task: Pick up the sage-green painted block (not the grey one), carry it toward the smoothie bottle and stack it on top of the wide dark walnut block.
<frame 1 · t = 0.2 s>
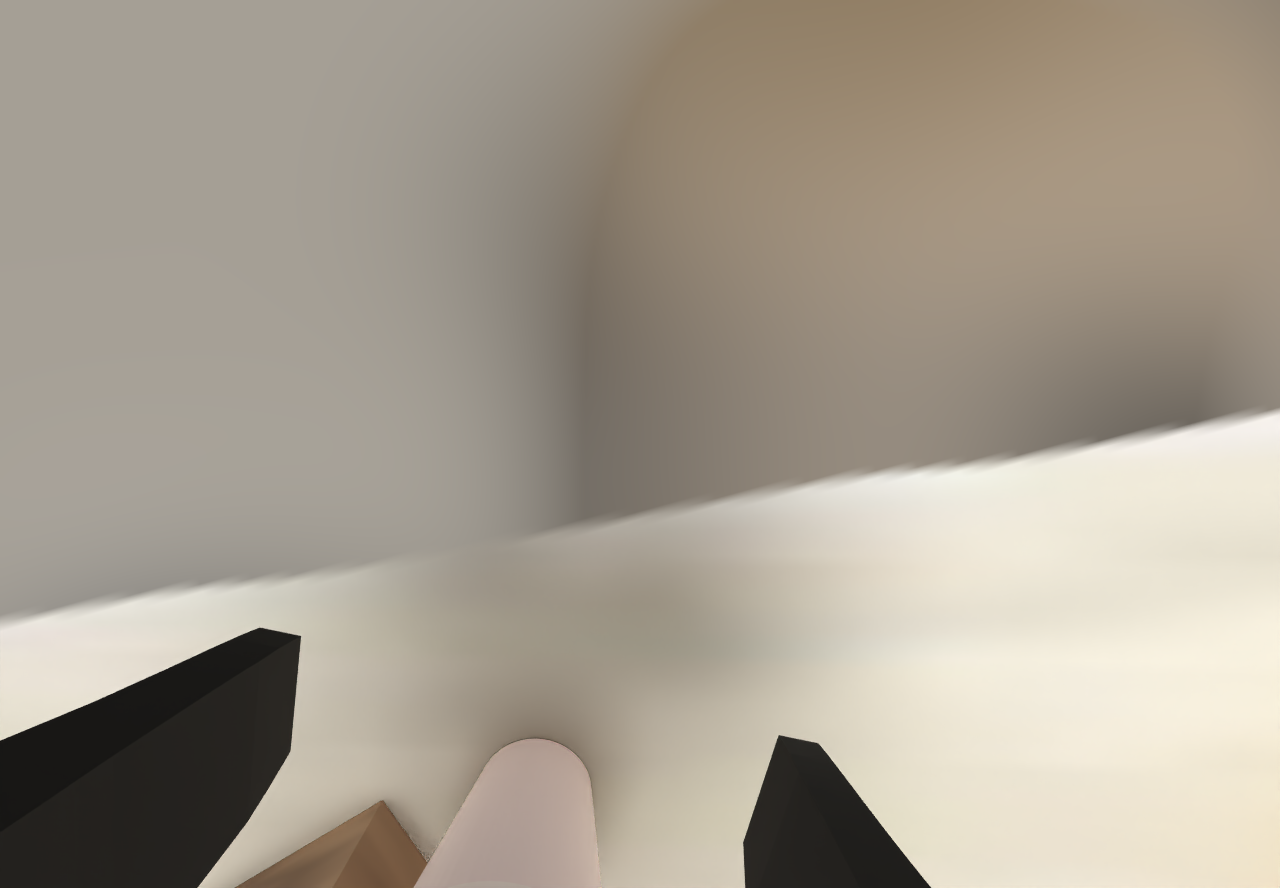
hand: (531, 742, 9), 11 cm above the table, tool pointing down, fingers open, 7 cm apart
smoothie: (536, 787, 21), on the table
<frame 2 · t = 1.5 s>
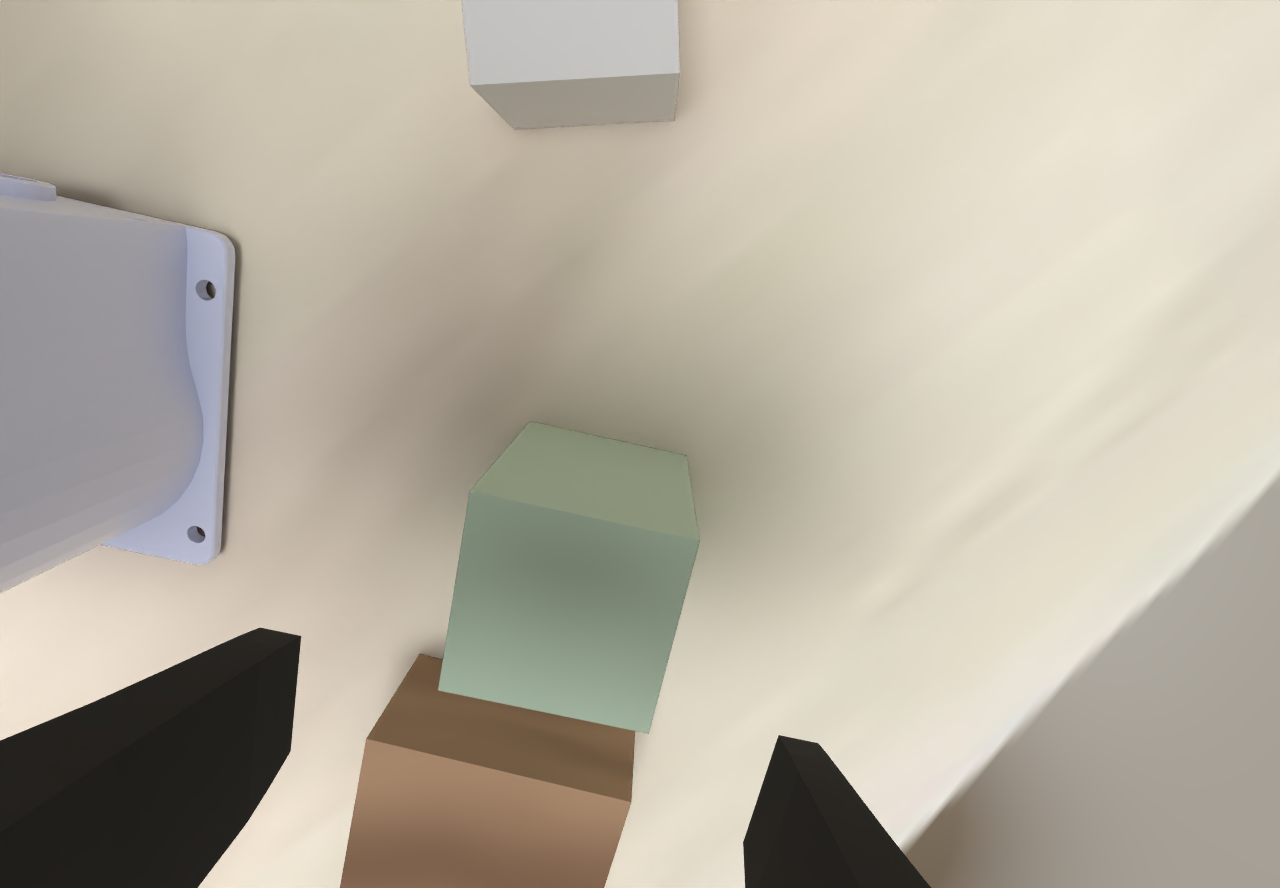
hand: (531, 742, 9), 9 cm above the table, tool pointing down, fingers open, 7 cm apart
grey block: (589, 35, 15), on the table
walnut block: (508, 764, 21), on the table
sage block: (592, 511, 19), on the table
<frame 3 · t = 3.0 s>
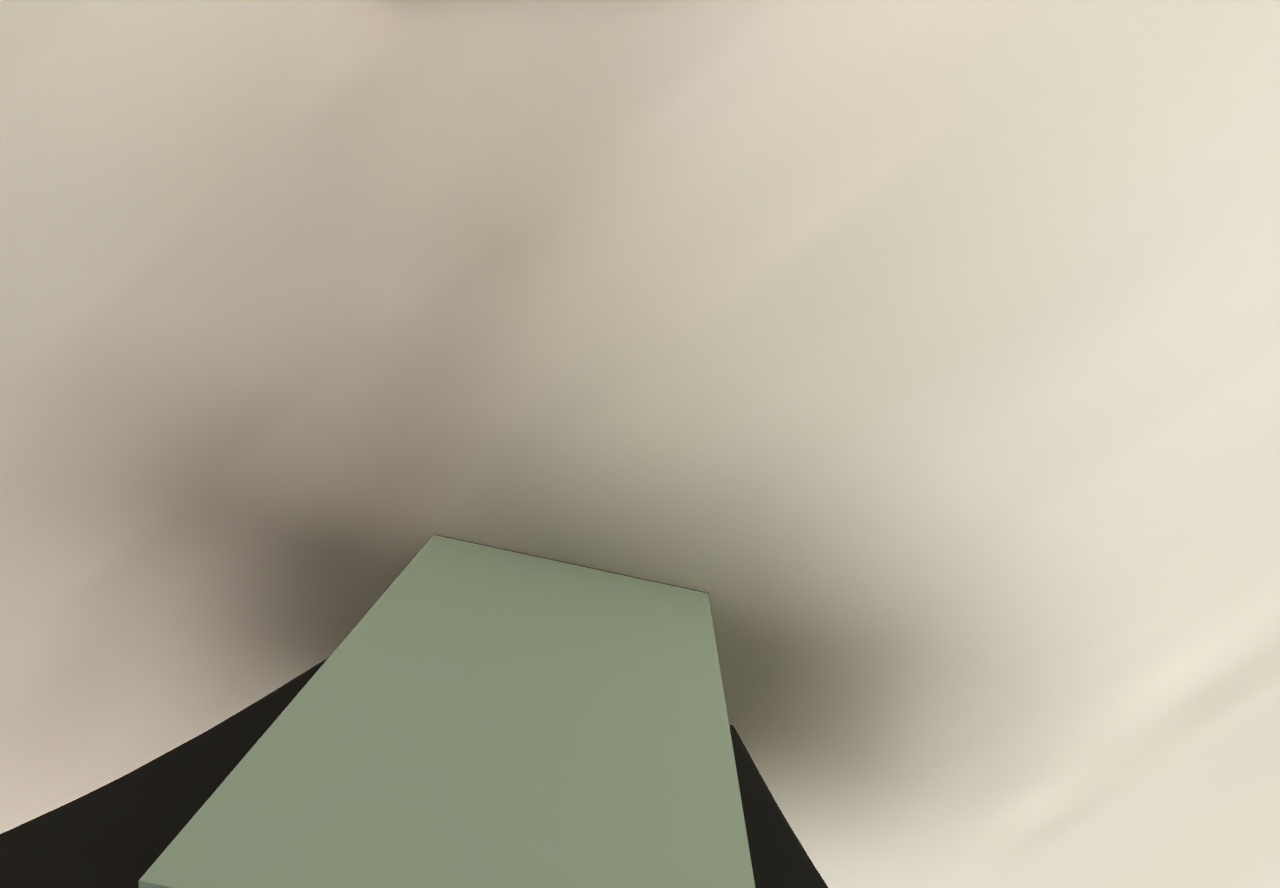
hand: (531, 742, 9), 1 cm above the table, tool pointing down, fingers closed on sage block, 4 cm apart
sage block: (546, 682, 11), on the table, touching gripper
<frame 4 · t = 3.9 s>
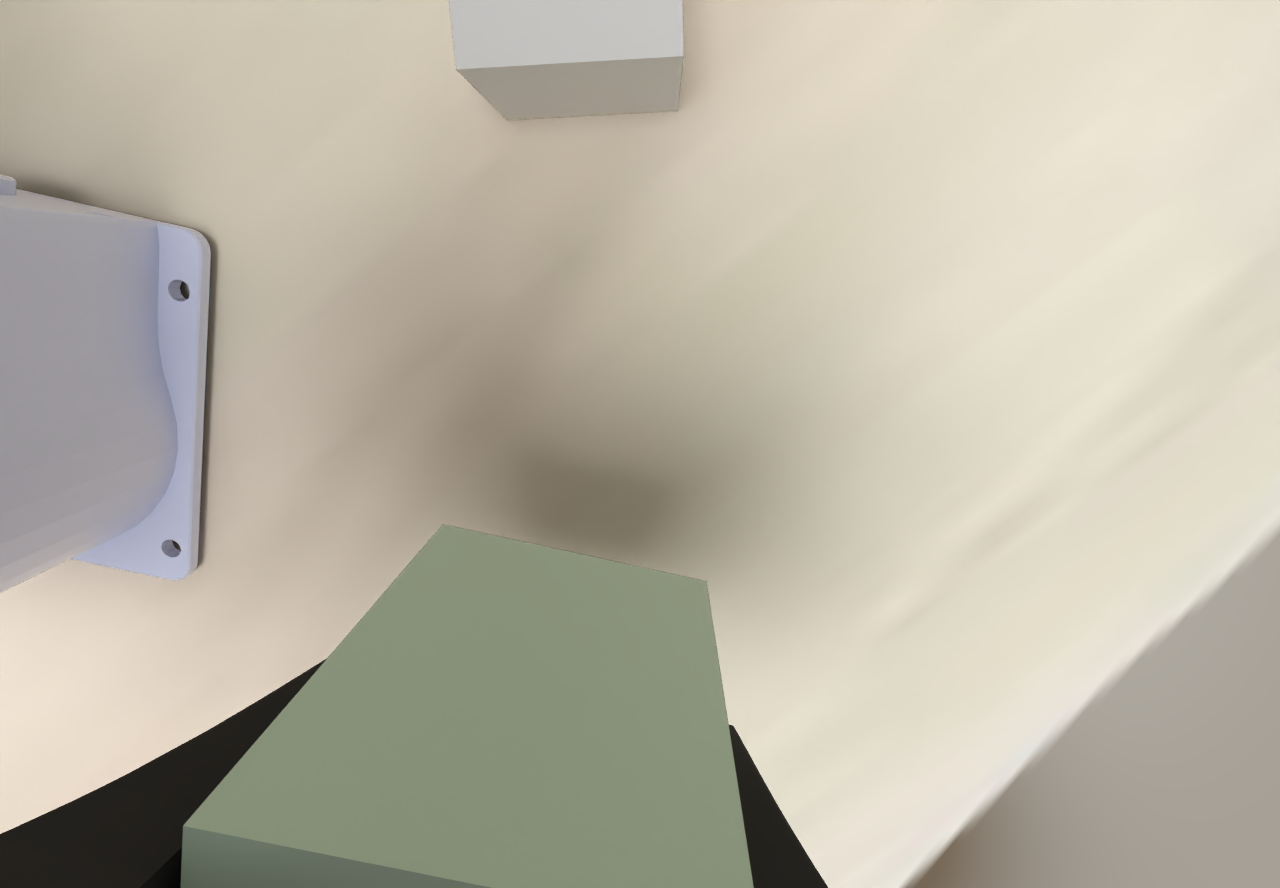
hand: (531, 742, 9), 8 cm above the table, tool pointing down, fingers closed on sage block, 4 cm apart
grey block: (586, 19, 15), on the table
sage block: (551, 667, 11), point 7 cm above the table, touching gripper
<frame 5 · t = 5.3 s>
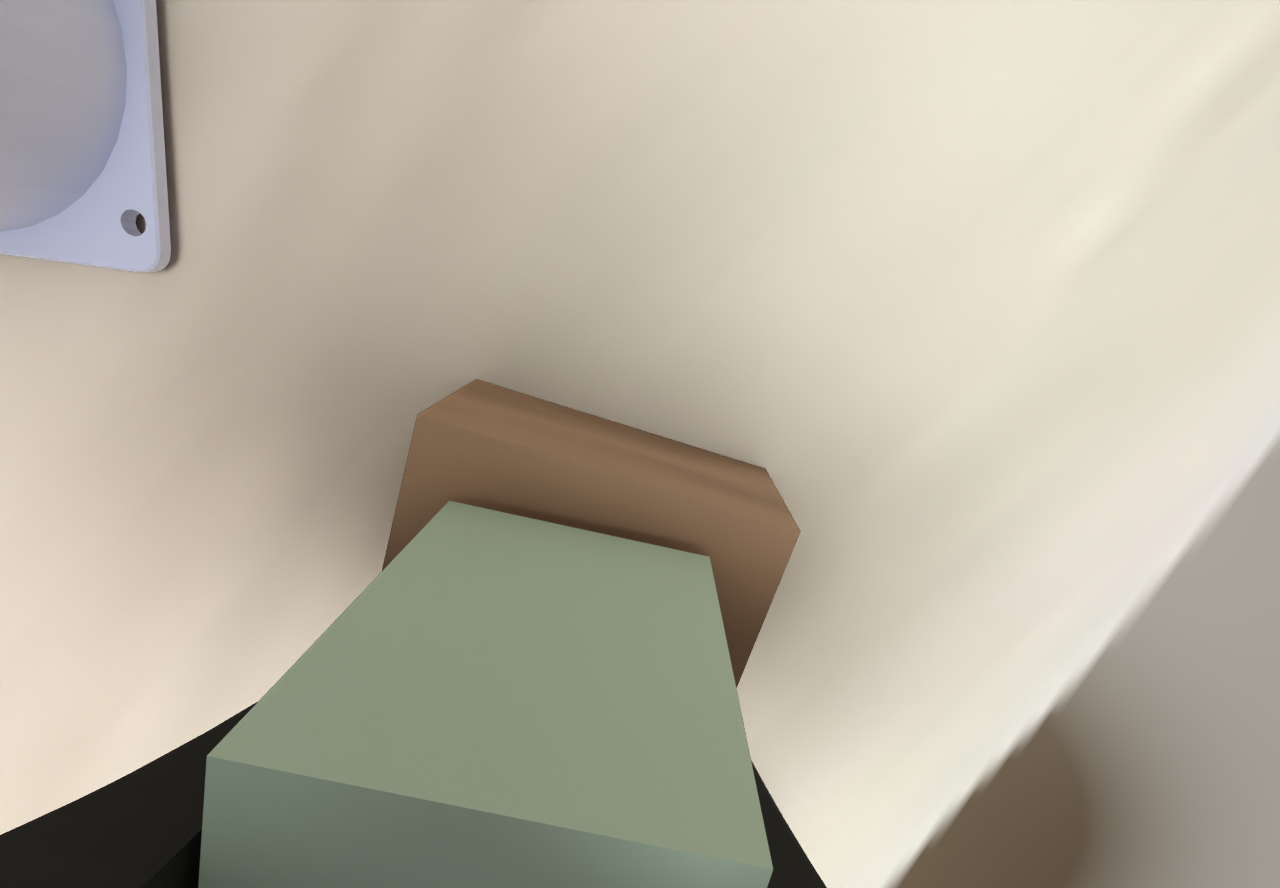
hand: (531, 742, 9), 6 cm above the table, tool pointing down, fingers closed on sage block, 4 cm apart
walnut block: (582, 552, 16), on the table
sage block: (555, 644, 11), point 4 cm above the table, touching gripper
when the fingers open (6 cm above the table, at t = 5.3 s): sage block stays where it is, point 4 cm above the table.
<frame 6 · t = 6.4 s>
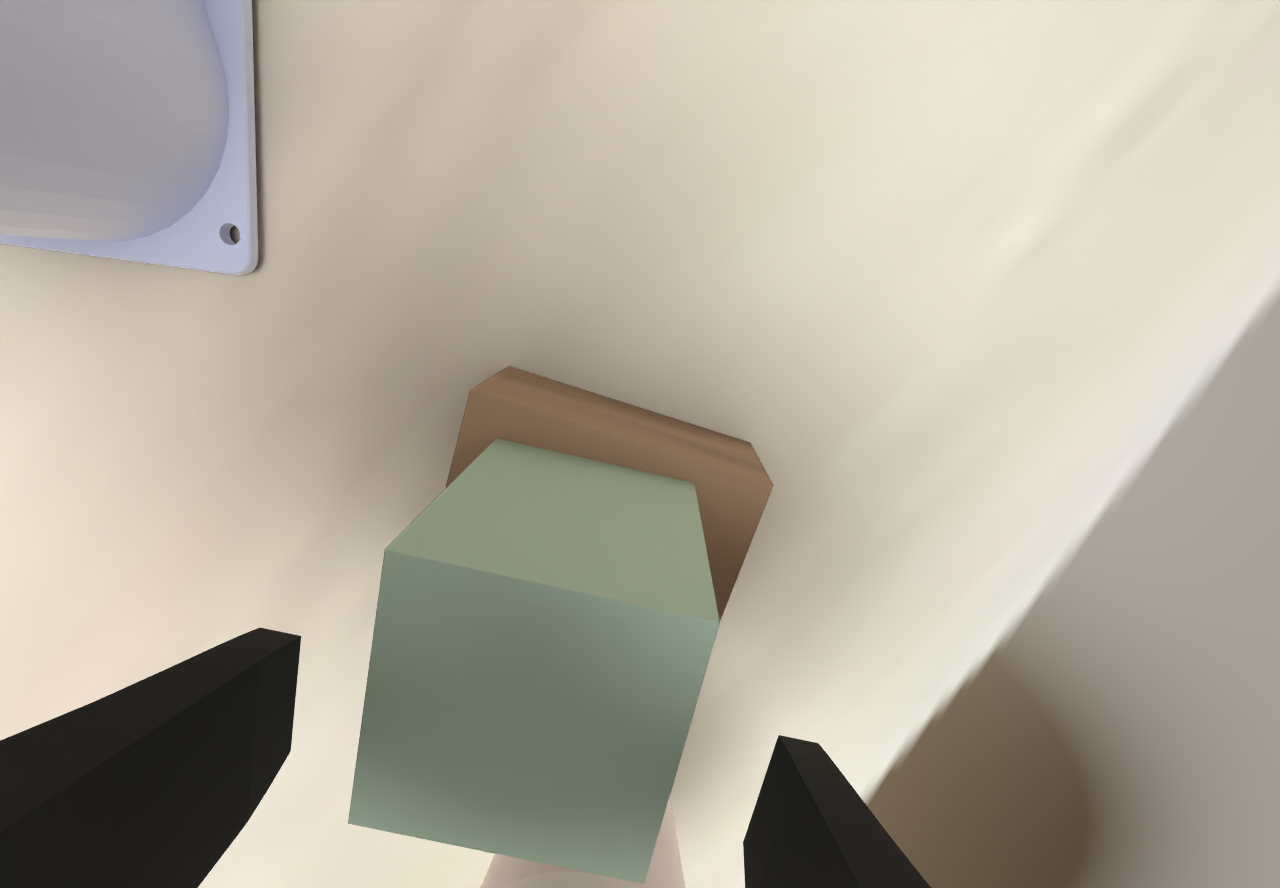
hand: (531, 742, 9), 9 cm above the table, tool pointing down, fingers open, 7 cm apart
walnut block: (595, 514, 19), on the table
smoothie: (603, 742, 21), on the table
sage block: (576, 551, 15), point 4 cm above the table
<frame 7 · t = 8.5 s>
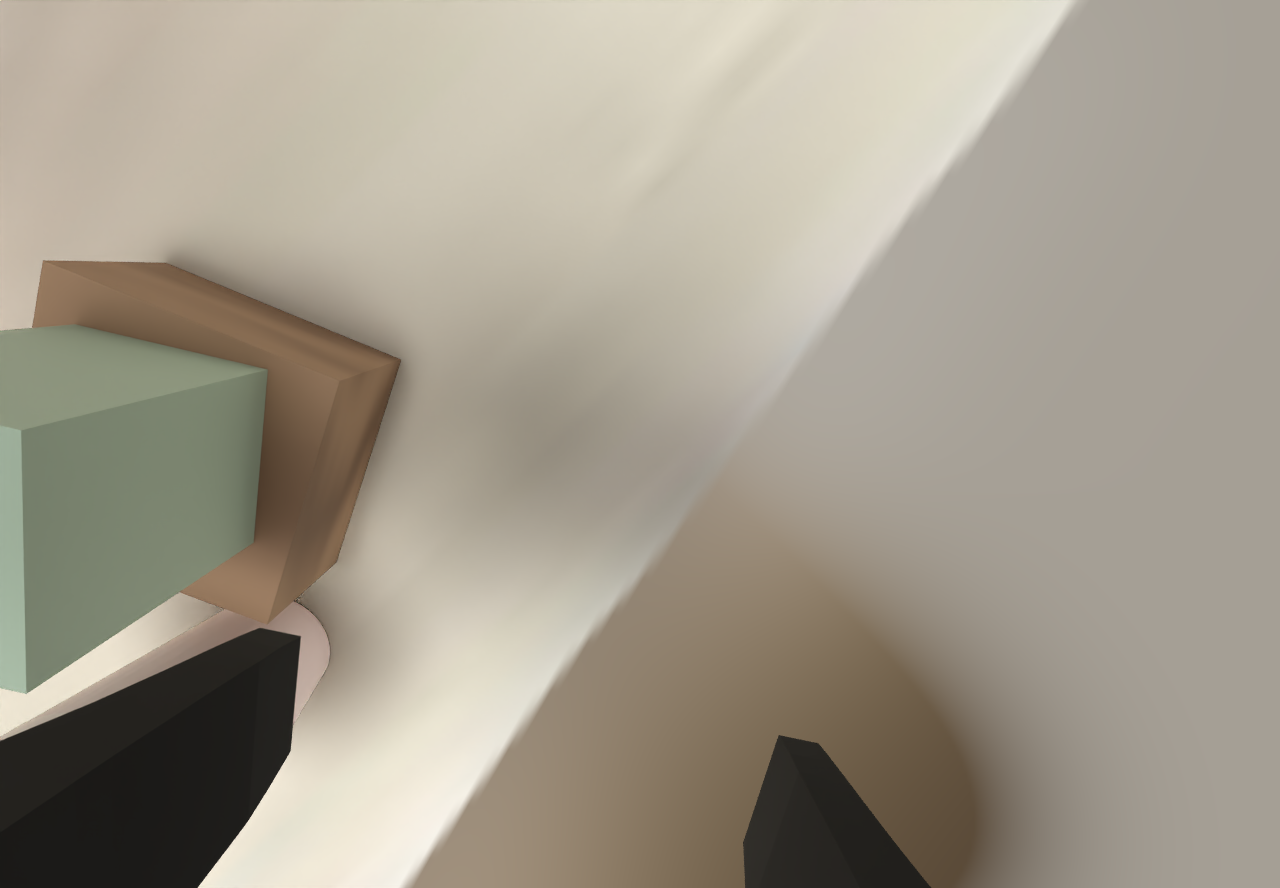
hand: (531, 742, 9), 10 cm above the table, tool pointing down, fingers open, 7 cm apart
walnut block: (261, 419, 19), on the table
smoothie: (277, 641, 21), on the table
sage block: (168, 438, 15), point 4 cm above the table
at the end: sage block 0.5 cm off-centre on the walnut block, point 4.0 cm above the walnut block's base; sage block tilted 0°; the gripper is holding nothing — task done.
